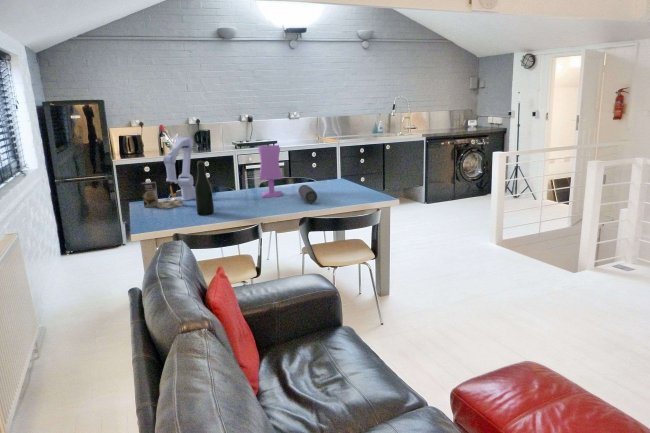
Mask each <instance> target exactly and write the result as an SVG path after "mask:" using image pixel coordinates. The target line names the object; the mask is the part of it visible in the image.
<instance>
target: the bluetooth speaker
mask: <svg viewBox="0 0 650 433" xmlns="http://www.w3.org/2000/svg"><path fill="white" fill-rule="evenodd" d="M298 195H299V196H300V197H301V198H302V199H303V201H305V202H306V203H308V204H313V203H315V202H316V201H317V200H318V194H317V192H316V190H315V189H314V188H312V187H311V186H309V185H307V184H301V185H300V186H299V187H298Z"/></svg>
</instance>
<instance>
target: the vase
mask: <svg viewBox="0 0 650 433" xmlns="http://www.w3.org/2000/svg"><path fill="white" fill-rule="evenodd" d="M257 150H258V154H259V157H260V158H259V159H260V170H259V180H260V181H263V180H264V181H268V182H267V183H268V191H262V192H261V193H262V198H278V197H283V194H282V191H281V190H278V191H276V190H275V181H274V180H283V174H282V172H281V171H282V170H281V168H280V161H279V160H280V151H281V147H280V145H279V144H276V145H275V144H274V145H260V146H259V145H258V146H257Z"/></svg>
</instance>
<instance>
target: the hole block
mask: <svg viewBox="0 0 650 433" xmlns="http://www.w3.org/2000/svg"><path fill="white" fill-rule="evenodd" d="M183 201H184V200H181V199H178V198H174V199H173V198H172V199H168V200H163V201H158V202H157V206H156V207H157V208H159V209H162V210H166V209H170V208H175V207H181V206H184V204H183V203H184V202H183Z"/></svg>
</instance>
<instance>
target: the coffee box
mask: <svg viewBox="0 0 650 433" xmlns="http://www.w3.org/2000/svg"><path fill="white" fill-rule="evenodd" d="M140 186H141V192H142V202H143V207H144V208H149V207H151V208H152V207H153V208H154V207H157V202H159V198H158V189H157V188H158V187H157V182H156V181H147V182H141V185H140Z"/></svg>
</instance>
